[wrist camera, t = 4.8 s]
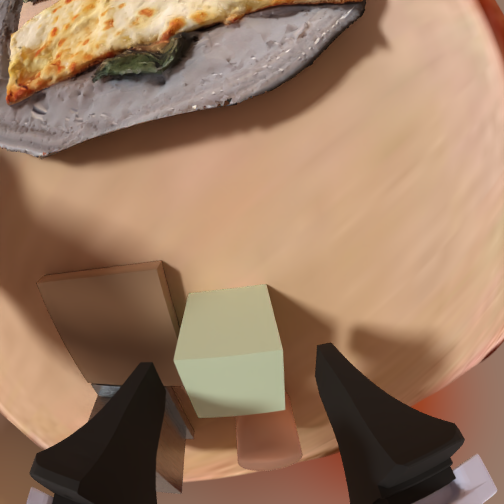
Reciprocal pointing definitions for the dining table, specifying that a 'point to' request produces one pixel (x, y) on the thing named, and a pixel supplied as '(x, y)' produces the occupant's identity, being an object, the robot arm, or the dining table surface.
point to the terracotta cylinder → (268, 439)
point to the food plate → (148, 61)
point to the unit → (161, 437)
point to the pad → (115, 320)
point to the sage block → (231, 353)
